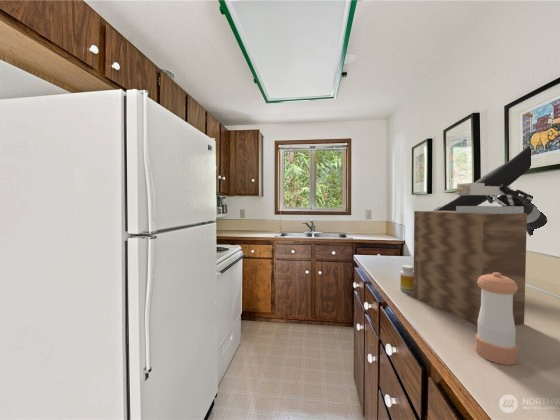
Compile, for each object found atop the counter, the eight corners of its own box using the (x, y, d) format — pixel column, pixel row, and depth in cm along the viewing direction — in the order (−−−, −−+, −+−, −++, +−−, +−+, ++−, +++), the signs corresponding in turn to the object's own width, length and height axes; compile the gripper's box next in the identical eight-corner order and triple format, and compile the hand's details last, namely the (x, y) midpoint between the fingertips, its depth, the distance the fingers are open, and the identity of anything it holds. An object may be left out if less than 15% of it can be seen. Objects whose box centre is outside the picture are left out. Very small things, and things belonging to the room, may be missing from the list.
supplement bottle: (417, 293, 96) (417, 268, 96) (402, 292, 97) (402, 267, 97) (412, 288, 101) (412, 265, 101) (398, 287, 102) (398, 264, 102)
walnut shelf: (413, 296, 93) (414, 211, 92) (442, 292, 96) (443, 210, 95) (488, 331, 68) (491, 214, 67) (524, 324, 71) (526, 213, 71)
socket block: (456, 212, 78) (456, 206, 78) (482, 212, 81) (482, 205, 81) (494, 214, 68) (494, 206, 68) (523, 213, 71) (523, 206, 71)
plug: (452, 195, 89) (452, 184, 89) (496, 195, 95) (496, 184, 95) (467, 194, 84) (467, 182, 84) (512, 194, 90) (512, 183, 90)
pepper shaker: (467, 346, 60) (468, 268, 60) (494, 345, 61) (496, 268, 60) (495, 366, 53) (497, 277, 53) (526, 364, 54) (528, 277, 53)
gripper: (503, 201, 102) (477, 179, 98) (549, 201, 89) (521, 176, 84) (497, 217, 102) (470, 196, 97) (541, 219, 88) (513, 195, 83)
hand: (494, 187), depth 91 cm, fingers closed on plug, 4 cm apart
